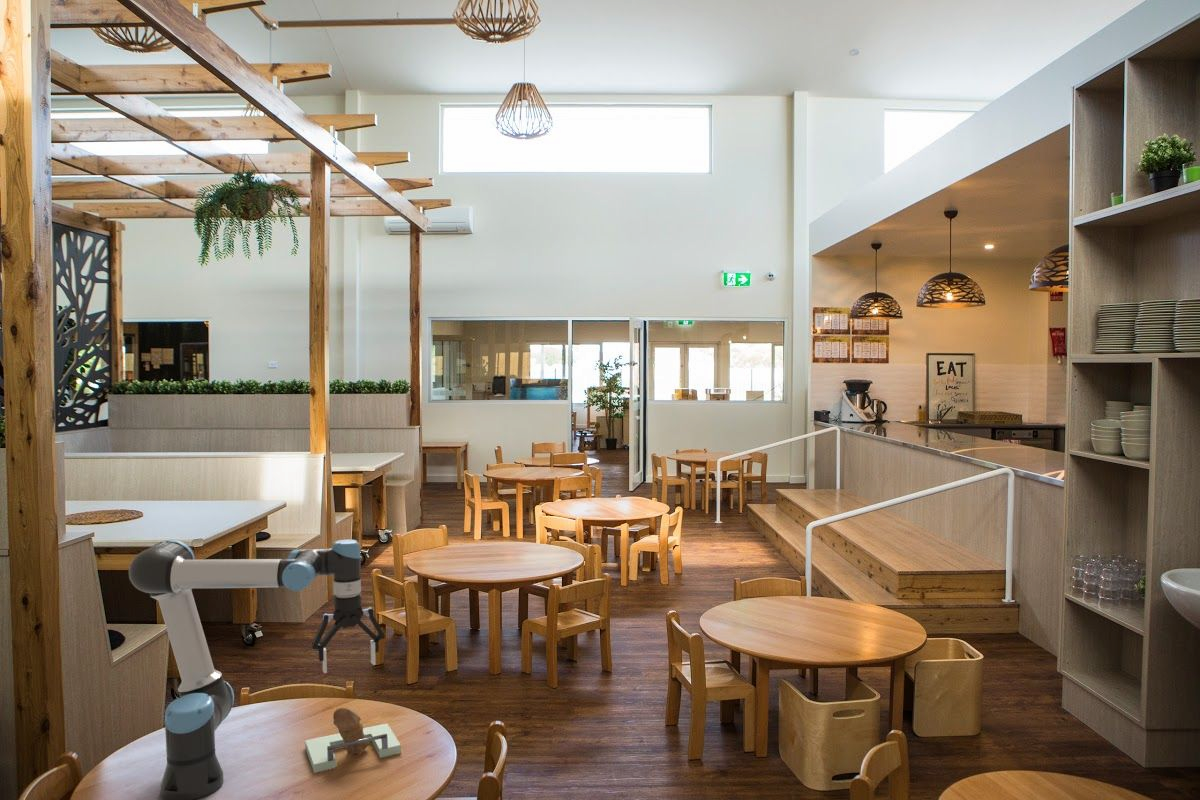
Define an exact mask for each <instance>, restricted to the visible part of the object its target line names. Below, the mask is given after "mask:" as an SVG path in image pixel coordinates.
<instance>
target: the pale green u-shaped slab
mask: <svg viewBox="0 0 1200 800" xmlns="http://www.w3.org/2000/svg"><path fill="white" fill-rule="evenodd" d="M363 733H364V735H365V738H369V737H374V736H378V735H383V734H387V738H388V748H386V749H382V739H377V740H373V741H368V742H369V743H372V746H373V747H374V749H375V750H376V753H377V755H378V756H379V758H380V759H382V758H386V757H389V756H394V755H399V754H402V745H401V743H400V741H399V740H398V738H397V737H396V734H395V733H394V731H393V730H392V729H391V727H390V725H389V723H388V722H386V723H382V724H378V725H373V726H367V727H363ZM341 743H344V740H343V738H342V737H341V735H340V733H339V732H338V733H334V734H330V735H325V736H320V737H314V738H311V739H305V741H304V744H305V745H304V746H305V747H304V748H305V750H306V753H307V757H308V759H309V762H310V765H311V767H312V770H313V773H314V774H316V773H318V772H319V773H320V772H324V770H325V771H329V770H332V768H333V769H336V768H335V767H337V766H338V765H337V764H338V763H337V758H336V755H335V753H334V752H333V759H334V760H332V761H328V759H327V746H332V745H336V744H341ZM343 748H346V746H345V747H340V748H336V749H335V750H339V749H343ZM328 769H329V770H328Z"/></svg>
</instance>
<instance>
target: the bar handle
mask: <svg viewBox="0 0 1200 800" xmlns="http://www.w3.org/2000/svg"><path fill="white" fill-rule="evenodd" d="M377 739H382V749H386V748H388V738H387V734H383V735H378V736H374V737H369V738H364V739H360V740H355V741H350V742H346V743H341V744H336V745H332V746H327V759H328V761H332V760H334V759H333V753H334V750H333V749H335V750H337V749H336V748H339V749H341V748H340V747H344V748H346V747H345V746H350V745H354V744H359V743H363V742H368V741H373V740H377Z"/></svg>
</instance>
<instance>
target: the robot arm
mask: <svg viewBox="0 0 1200 800" xmlns="http://www.w3.org/2000/svg"><path fill="white" fill-rule="evenodd" d="M360 548H361V547H360V542H359V541H357V539H348V538H347V539H339V540H336V541H334V542H333V543H332V547H329V548H311V549H310V548H308V549H306V548H301V549H293V550H291V551H290V553H289V555H288V557H287V558H284V559H283V558H265V559H264V558H252V559H251V558H247V559H246V558H245V559H244V558H241V559H238V558H237V559H231V558H230V559H227V558H225V559H224V558H223V559H222V558H221V559H218V558H217V559H195V553H194V552H193V550H192V548H191V547H190V546H189V545H187V544H186V543H184V542H183V541H180V540H176V539H170V540H167V539H166V540H164V541H161V542H160V541H159V542H158V543H155V544H154V545H152V546H151V547H149V548H147V549H145V550H143V551H141V552H139V553H138V554H137V555H136V556H134V557H133V559H132V561H131V563H130V564H129V567H128V578H129V581H130V583H131V584H132V586H134V588H135V589H137V590H138V591H141V592H143V593H146V594H149V595H150V596H149V597H150V598H152V599H154V600H156V601H158V605H159V607H160V608H159V609H160V611H161V615H162V619H163V621H164V624H165V628H166V631H167V635H168V638H169V642H170V646H171V649H172V654H173V656H174V658H175V659H174V660H175V662H176V665H177V670H178V672H179V676H180V680H181V683H180V684H179V686H178V687H177V691H178V695H179V697H178V698H175V699H174V700H172V701H171V702H170V703H169V704H168V706H167V707H166V709H165V712H164V713H165V714H164V728H165V729H164V730H165V731H164V732H165V746H166V747H165V749H166V751H165V752H166V765H165V769H164V773H163V776H162V779H161V782H160V797H161V798H162V799H164V800H197V799H200V798H203V797H207V796H209V795H211V794H213V793H215V792H216V791H217V790H219V789H220V788H221V787H222V786H223V784H224V771H223V768H222V767H221V765H220V764H221V763H220V762H219V759H218V757H217V754H216V741H215V740H216V736H215V735H216V733H215V732H216V730H217V729H218V727H219V726H220V725H221V723H222V722H224V720H225V719H226V718H227V717H228V716H229V714H230V712H231V710H232V708H233V705H234V701H235V692H234V689H233V688H232V686H231V684H230V683H229V682H228V681H225V680H224V676H223V674H222V672H221V671H219V670H216V669H215V666H214V663H213V660H212V657H211V653H210V648H209V646H208V642H207V638H206V635H205V632H204V629H203V625H202V623H201V619H200V615H199V612H198V609H197V605H196V602H195V597H194V595H193V591H192V589H193V590H194V589H247V588H248V589H249V588H250V589H251V588H252V589H255V588H259V589H260V588H261V589H262V588H287V589H288V590H290V591H292V592H300V591H302V590H304V589H307V588H308V587H309V586H310V585H311V584H312V583H313V582H314V580H315V578H317V576H333V595H334V597H333V604H334V605H333V607H334V608H333V609H334V610H333V613H326V612H325V613H323V614H322V619H321V620H322V621H321V622H320V625H319V626H318V629H317V631H316V633H315V635H314V638H313V639H312V641H311V644H310V645H311V648H312V649H313V650H317V655H318V660H319V662H322V671H323V673H324V674H327V673H328V670H327V669H328V665H327V664H328V662H327V661H328V660H327V657H328V656H327V649H326V647H327V645H328V644H329V642H331V640H332V638H334V636H335V634H336V633H337V632H339V630H340V629H341V628H343V629H347V628H354V627H355V626H357V625H358V626H359V627H360V628H361V629H362V630H363V631H364V632H365V633H366V634H367V635H368V636H369V638H371V639H372V640H371V639H370V663H371V664H372V665H373V666H376V663H377V662H376V653H379V651H380V647H379V645H380V643H379V642H380V641H381V640H382V639H385V638H386V635H385V633H384V631H383V629H382V628H381V626H380V624H379V622H378V621H377V620H376V617H375V616H374V610H373V608H372V607H371V606H368V607H367V608H364V609H363V608H362V594H361V592H362V577H361V575H362V573H361V569H362V568H361V565H362V563H361V561H362V559H361V556H362V555H361V550H360ZM363 615H365V616H366V617H368V618H369V620H370V622H371V623H372V625H373V627H374V629H375V630H376V633H377V634H375V633H374V632H373V630H372V629H370V628H369V627H368V626H367V625H366V624H365V623H364V622H363V621H362V620H361V619H362V617H363ZM332 619H333V620H334V621H335V622H334V623H333V624H332V626H331V628H330V629H329V630H328V632H327V633H326V634H325V635H324V633H325V630H326V629H327V626H328V623H330V622H331V620H332ZM323 635H324V637H323ZM322 637H323V638H322Z"/></svg>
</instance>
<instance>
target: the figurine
mask: <svg viewBox="0 0 1200 800" xmlns="http://www.w3.org/2000/svg"><path fill="white" fill-rule="evenodd" d="M332 718H333V725H334V726H336V728H337V729H338V733H340V735H341V737H342V738H343V740H344V743H346V742H350V741H355V740H360V739H364V738H365V735H364V733H363V728H364V727H363V724H362V723H360V722H361V720H362V718H361V717H360V716H359V714H358V713H357V712H356V711H354V710H352V709H350V708H348V707H347V708H346V707H340V708H337V709H336V710H334V712H333V717H332ZM369 744H370V742H363V743H359V744H354V745H350V746H346V747H345V748H346V752H347V754H348V755H353V754H356V755H361V754H362V753H363V752H364V750H365V749H367V747H368V746H369Z"/></svg>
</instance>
